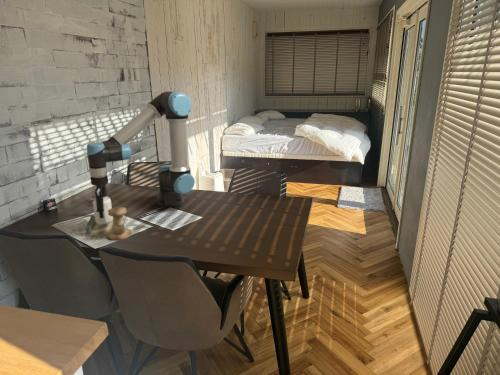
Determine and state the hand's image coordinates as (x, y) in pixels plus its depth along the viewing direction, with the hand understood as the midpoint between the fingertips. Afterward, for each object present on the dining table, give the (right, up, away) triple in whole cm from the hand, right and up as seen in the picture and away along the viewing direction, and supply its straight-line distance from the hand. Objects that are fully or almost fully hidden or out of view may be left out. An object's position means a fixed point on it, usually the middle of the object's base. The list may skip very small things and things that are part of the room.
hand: (104, 220), depth 170 cm
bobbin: (+10, -7, -6) cm, 14 cm away
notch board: (0, -4, +2) cm, 5 cm away
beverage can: (0, -1, 0) cm, 1 cm away
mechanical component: (-11, 0, +16) cm, 19 cm away
